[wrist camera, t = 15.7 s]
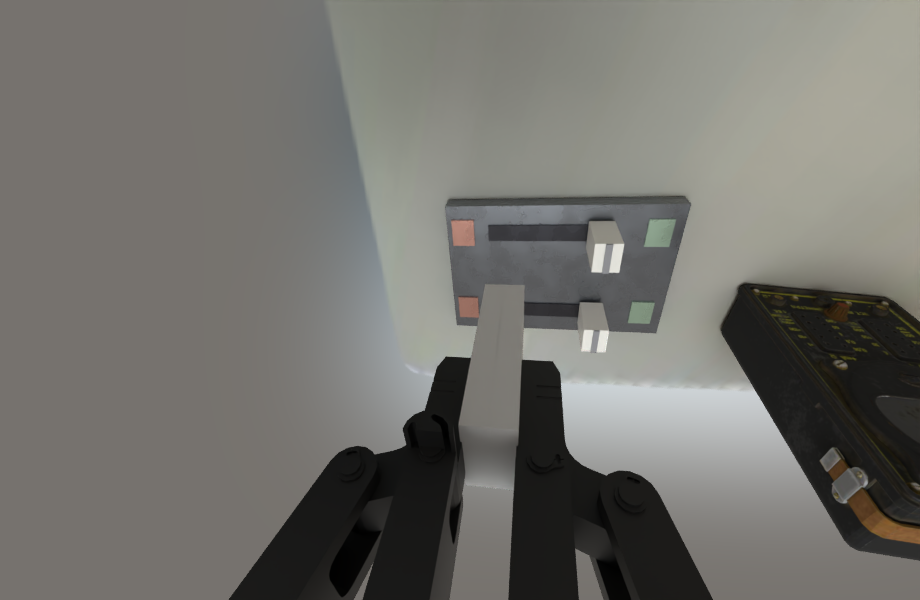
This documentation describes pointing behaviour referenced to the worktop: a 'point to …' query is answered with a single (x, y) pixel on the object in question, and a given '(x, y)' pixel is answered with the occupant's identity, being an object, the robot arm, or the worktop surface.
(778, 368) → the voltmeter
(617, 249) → the block
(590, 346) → the block
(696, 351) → the worktop surface
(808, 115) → the worktop surface
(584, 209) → the breaker panel
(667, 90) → the worktop surface
